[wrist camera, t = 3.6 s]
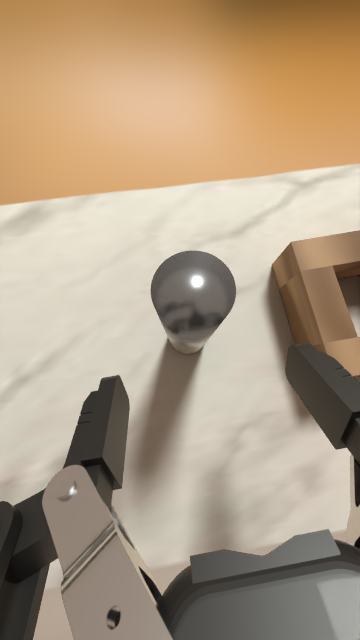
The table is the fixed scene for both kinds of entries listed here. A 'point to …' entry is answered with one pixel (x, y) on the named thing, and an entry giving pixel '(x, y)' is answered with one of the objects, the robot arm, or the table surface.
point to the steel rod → (192, 298)
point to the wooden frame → (321, 294)
